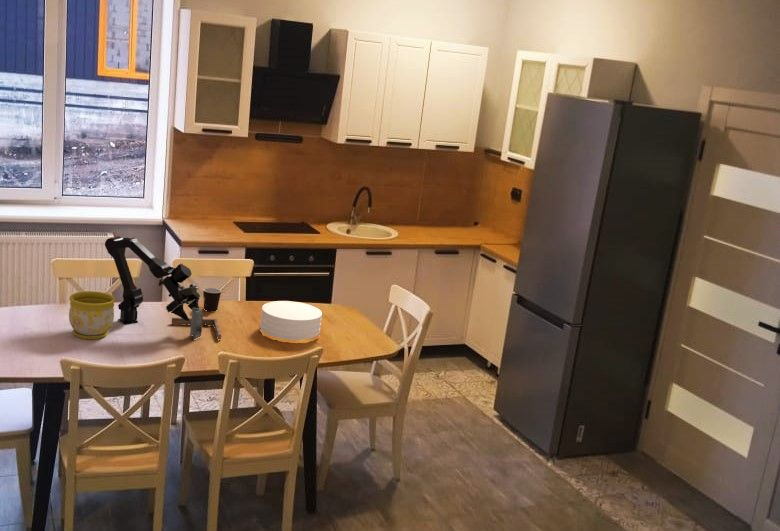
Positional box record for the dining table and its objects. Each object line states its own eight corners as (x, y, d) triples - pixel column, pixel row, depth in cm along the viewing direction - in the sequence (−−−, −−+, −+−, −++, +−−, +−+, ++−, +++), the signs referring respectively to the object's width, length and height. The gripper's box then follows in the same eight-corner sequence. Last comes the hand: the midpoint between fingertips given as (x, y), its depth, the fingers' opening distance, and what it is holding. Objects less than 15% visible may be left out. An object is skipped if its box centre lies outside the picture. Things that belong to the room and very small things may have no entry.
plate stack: (247, 332, 367) (249, 308, 364) (282, 319, 391) (285, 297, 389) (297, 348, 355) (300, 324, 352) (330, 334, 379) (333, 312, 377)
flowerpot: (59, 337, 329) (60, 299, 325) (81, 324, 346) (83, 288, 342) (100, 344, 327) (102, 306, 323) (120, 331, 344) (123, 295, 340)
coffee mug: (217, 313, 385) (219, 294, 383) (199, 311, 385) (201, 291, 383) (222, 306, 397) (224, 287, 394) (205, 304, 397) (207, 285, 394)
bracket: (194, 340, 346) (197, 312, 343) (184, 338, 348) (187, 309, 345) (200, 337, 351) (203, 309, 348) (191, 335, 352) (193, 307, 349)
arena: (220, 340, 350) (221, 334, 350) (173, 339, 344) (174, 333, 343) (216, 325, 369) (216, 319, 368) (171, 323, 363) (172, 317, 362)
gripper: (174, 283, 336) (194, 313, 335) (198, 274, 353) (217, 303, 353) (157, 296, 340) (177, 327, 340) (181, 288, 358) (201, 316, 357)
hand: (194, 318), depth 347 cm, fingers open, 9 cm apart
